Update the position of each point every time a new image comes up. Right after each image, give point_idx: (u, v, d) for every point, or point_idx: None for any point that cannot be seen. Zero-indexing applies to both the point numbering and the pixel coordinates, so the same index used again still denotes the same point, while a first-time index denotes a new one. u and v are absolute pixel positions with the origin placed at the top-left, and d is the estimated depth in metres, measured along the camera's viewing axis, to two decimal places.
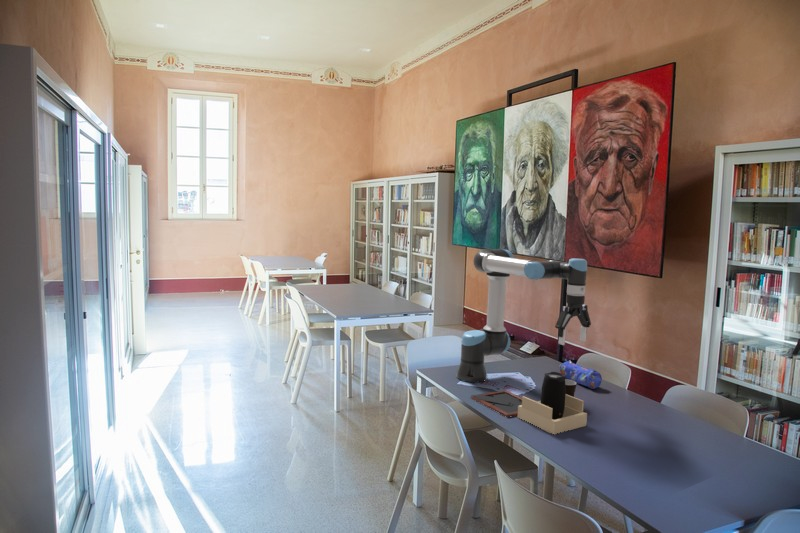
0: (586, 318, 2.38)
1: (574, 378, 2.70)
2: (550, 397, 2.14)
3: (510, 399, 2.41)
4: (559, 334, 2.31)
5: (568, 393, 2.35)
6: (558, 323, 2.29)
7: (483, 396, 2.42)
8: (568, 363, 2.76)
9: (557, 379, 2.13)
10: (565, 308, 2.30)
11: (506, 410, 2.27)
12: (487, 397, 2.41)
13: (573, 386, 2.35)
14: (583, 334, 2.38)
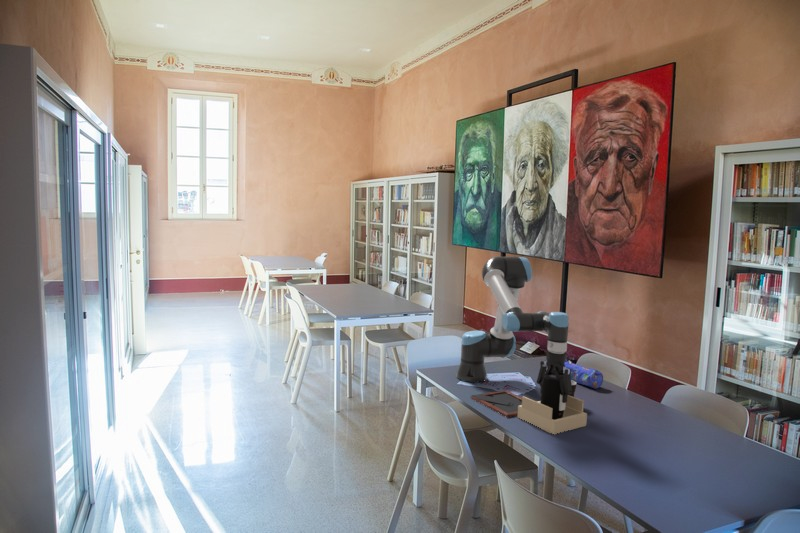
0: None
1: (575, 378, 2.70)
2: (550, 397, 2.14)
3: (510, 399, 2.41)
4: None
5: None
6: None
7: (483, 396, 2.42)
8: (568, 363, 2.76)
9: (557, 379, 2.13)
10: None
11: (506, 410, 2.27)
12: (487, 397, 2.41)
13: (573, 386, 2.35)
14: None
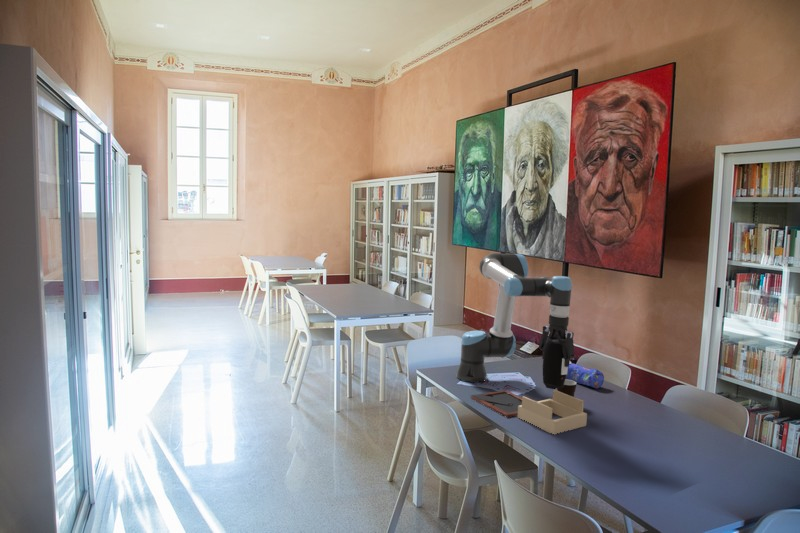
0: None
1: (576, 378, 2.70)
2: (552, 361, 2.13)
3: (510, 399, 2.41)
4: None
5: (568, 393, 2.35)
6: None
7: (483, 396, 2.42)
8: None
9: (559, 343, 2.12)
10: None
11: (506, 410, 2.27)
12: (487, 397, 2.41)
13: (573, 386, 2.35)
14: None
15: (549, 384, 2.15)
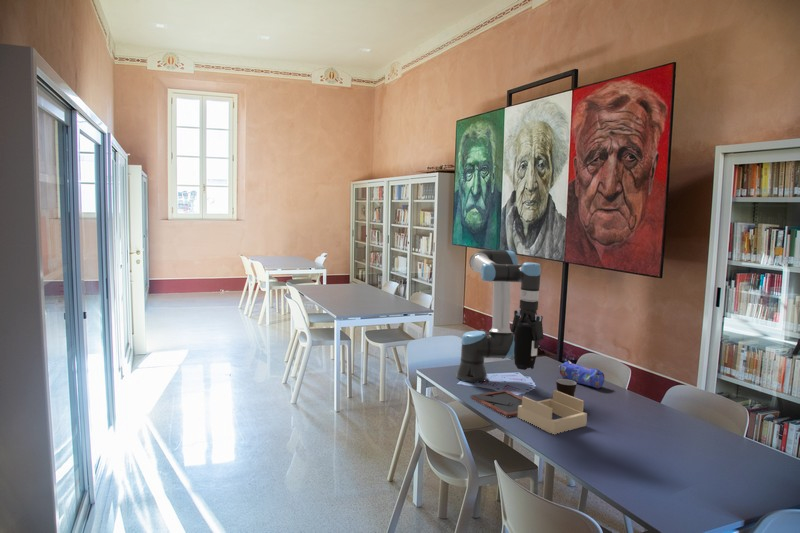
0: None
1: (576, 378, 2.70)
2: (523, 343, 2.24)
3: (510, 399, 2.41)
4: None
5: (568, 393, 2.35)
6: None
7: (483, 396, 2.42)
8: (568, 363, 2.75)
9: (529, 326, 2.23)
10: None
11: (506, 410, 2.28)
12: (487, 397, 2.41)
13: (573, 386, 2.35)
14: None
15: (520, 365, 2.26)
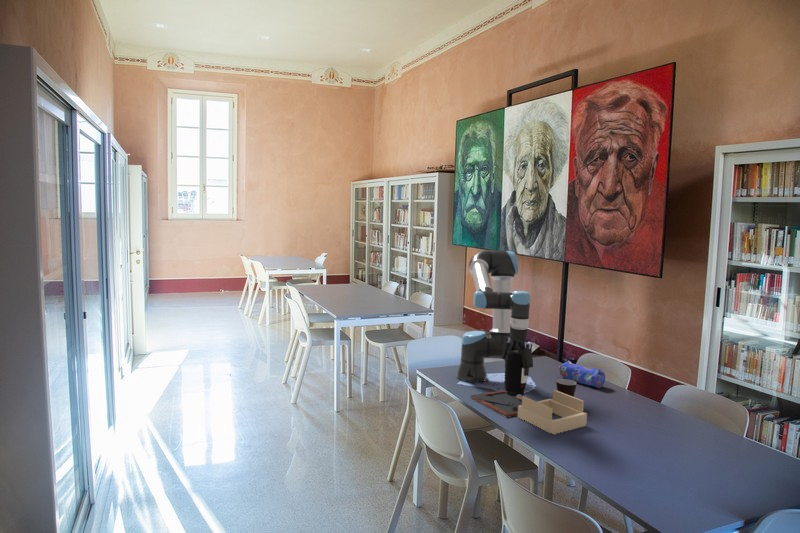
0: None
1: (577, 378, 2.70)
2: (513, 370, 2.28)
3: (510, 399, 2.41)
4: None
5: (568, 393, 2.35)
6: None
7: (483, 396, 2.42)
8: (568, 364, 2.75)
9: (519, 353, 2.27)
10: None
11: (506, 410, 2.28)
12: (487, 397, 2.41)
13: (573, 386, 2.35)
14: None
15: (510, 392, 2.30)
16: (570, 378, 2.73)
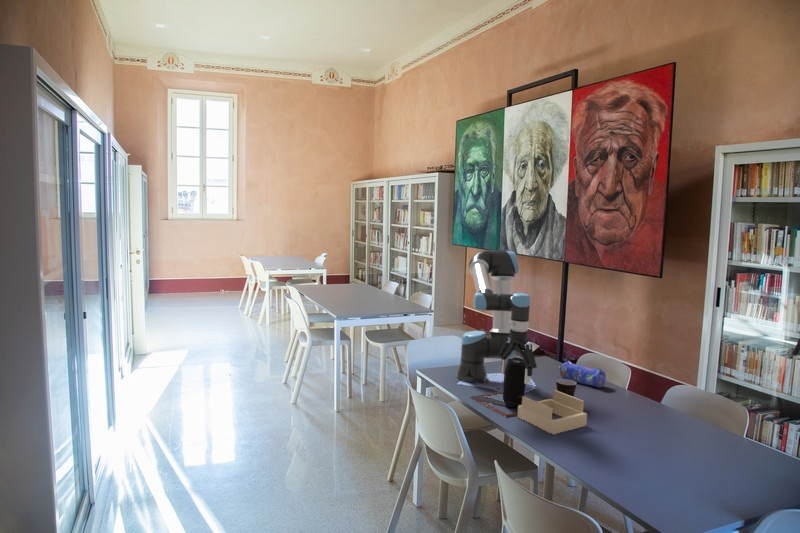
0: None
1: (578, 378, 2.69)
2: (512, 380, 2.30)
3: None
4: None
5: (568, 393, 2.35)
6: None
7: (482, 397, 2.42)
8: (568, 364, 2.75)
9: (519, 364, 2.29)
10: None
11: None
12: (486, 398, 2.41)
13: (573, 386, 2.35)
14: None
15: (508, 402, 2.31)
16: (570, 378, 2.73)
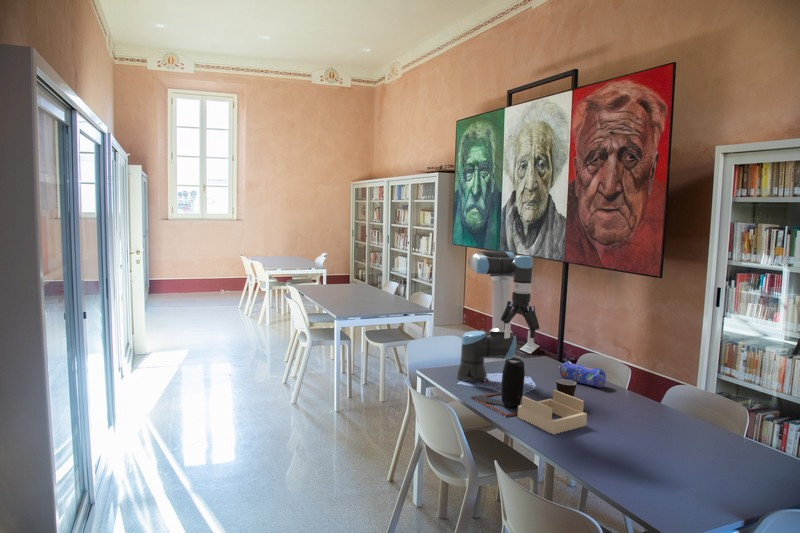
0: None
1: (578, 378, 2.69)
2: (510, 381, 2.30)
3: None
4: None
5: (568, 393, 2.35)
6: None
7: (482, 397, 2.42)
8: (568, 364, 2.75)
9: (516, 364, 2.29)
10: None
11: None
12: (486, 398, 2.41)
13: (573, 386, 2.35)
14: None
15: (506, 402, 2.32)
16: (571, 378, 2.73)
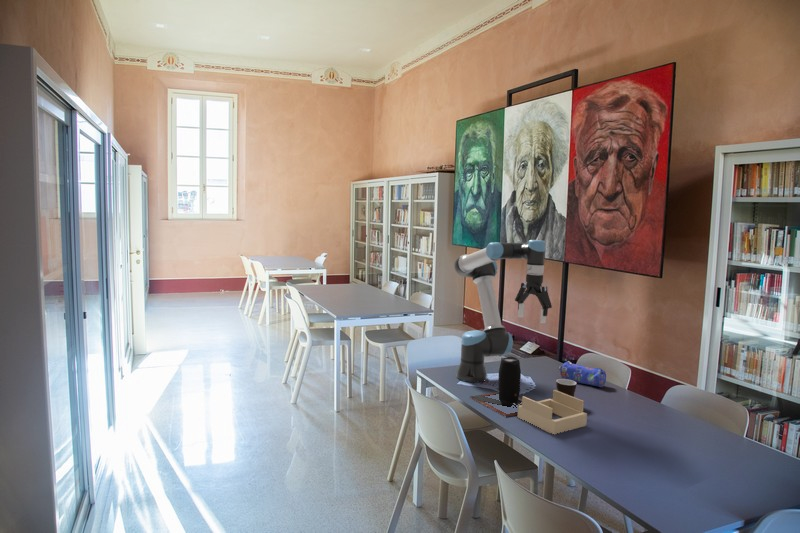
0: None
1: (579, 378, 2.69)
2: (506, 379, 2.31)
3: None
4: None
5: (568, 393, 2.35)
6: None
7: (482, 397, 2.42)
8: (568, 364, 2.75)
9: (512, 362, 2.30)
10: None
11: None
12: (486, 398, 2.41)
13: (573, 386, 2.35)
14: None
15: (504, 401, 2.33)
16: (571, 378, 2.72)
